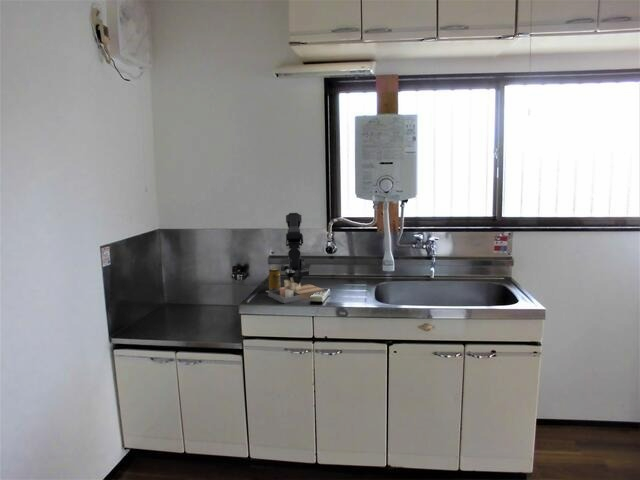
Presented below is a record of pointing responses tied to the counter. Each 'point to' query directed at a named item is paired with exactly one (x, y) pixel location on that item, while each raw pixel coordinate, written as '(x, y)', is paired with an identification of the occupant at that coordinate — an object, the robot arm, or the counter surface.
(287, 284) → the t-shaped wooden block
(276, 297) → the tray
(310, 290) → the plate
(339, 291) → the counter surface
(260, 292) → the counter surface
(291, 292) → the tile cream
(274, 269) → the condiment
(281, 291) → the tile terracotta
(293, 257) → the robot arm
